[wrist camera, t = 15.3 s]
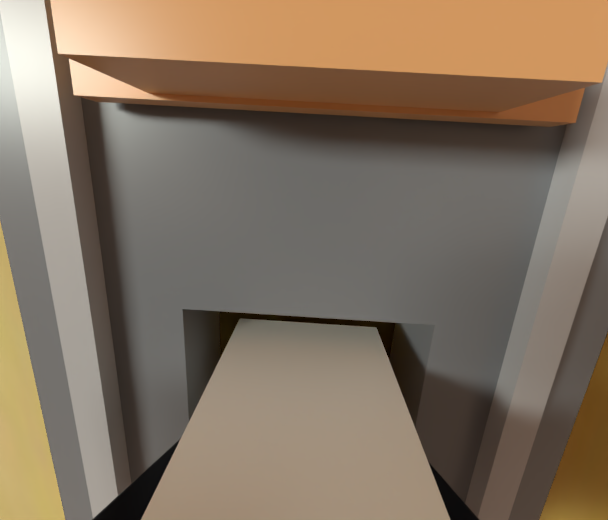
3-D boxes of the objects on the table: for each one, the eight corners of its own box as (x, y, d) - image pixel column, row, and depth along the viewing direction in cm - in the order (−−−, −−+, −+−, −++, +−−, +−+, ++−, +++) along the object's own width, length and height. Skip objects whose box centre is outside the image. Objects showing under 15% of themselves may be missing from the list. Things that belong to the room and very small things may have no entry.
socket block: (464, 514, 13) (517, 637, 10) (128, 489, 13) (64, 601, 10) (664, -226, 7) (1011, -614, 3) (28, -252, 7) (-240, -643, 4)
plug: (376, 327, 9) (537, 745, 3) (361, 437, 10) (447, 927, 4) (239, 318, 9) (49, 706, 3) (239, 428, 10) (106, 895, 4)
